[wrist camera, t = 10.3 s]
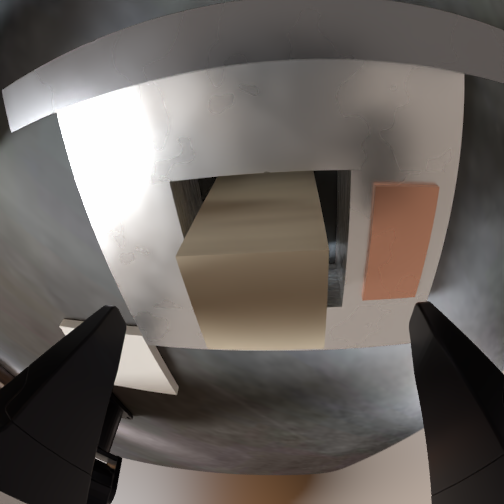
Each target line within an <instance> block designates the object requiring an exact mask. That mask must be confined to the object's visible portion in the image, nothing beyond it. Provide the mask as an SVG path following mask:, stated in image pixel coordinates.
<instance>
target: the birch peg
mask: <svg viewBox="0 0 504 504" xmlns="http://www.w3.org/2000/svg"><path fill="white" fill-rule="evenodd" d="M175 257H176V260H177V263H178V266H179V269H180V272H181V275H182V278H183V281H184V284H185V287H186V290H187V293H188V296H189V299H190V302H191V305H192V307H193V310H194V313H195V316H196V319H197V321H198V324H199V327H200V330H201V332H202V335H203V338H204V340H205V343H206V346H207V348H208V349H223V350H299V349H324V345H325V331H326V315H327V296H328V271H329V247H328V241H327V236H326V230H325V225H324V220H323V215H322V210H321V205H320V200H319V195H318V190H317V186H316V181H315V176H314V172H313V171H290V172H271V173H255V174H241V175H229V176H218V177H217V179H216V180H215V182H214V184H213V186H212V188H211V189H210V191H209V193H208V195H207V197H206V199H205V200H204V202H203V204H202V206H201V208H200V210H199V212H198V214H197V215H196V217H195V219H194V221H193V223H192V225H191V227H190V229H189V231H188V233H187V235H186V237H185V238H184V240H183V242H182V244H181V246H180V248H179V250H178V252H177V254H176V256H175Z"/></svg>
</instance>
